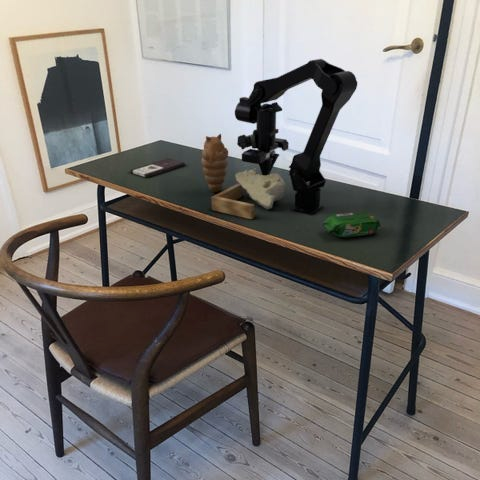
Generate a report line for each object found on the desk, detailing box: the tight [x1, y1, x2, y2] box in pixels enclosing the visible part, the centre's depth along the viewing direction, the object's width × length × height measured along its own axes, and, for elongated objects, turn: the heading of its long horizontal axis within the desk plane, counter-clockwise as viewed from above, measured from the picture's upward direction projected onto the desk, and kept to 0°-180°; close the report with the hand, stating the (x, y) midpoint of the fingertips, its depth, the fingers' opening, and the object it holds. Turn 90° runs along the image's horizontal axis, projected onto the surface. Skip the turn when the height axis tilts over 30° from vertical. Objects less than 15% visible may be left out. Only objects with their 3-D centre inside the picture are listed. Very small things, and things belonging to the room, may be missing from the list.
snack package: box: [322, 211, 381, 238], centre depth 139 cm, size 7×16×5 cm, turn 103°
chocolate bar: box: [129, 157, 186, 178], centre depth 190 cm, size 9×1×18 cm
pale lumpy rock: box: [234, 168, 286, 210], centre depth 160 cm, size 15×7×15 cm
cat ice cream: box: [200, 133, 229, 193], centre depth 165 cm, size 9×8×18 cm
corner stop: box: [210, 182, 255, 220], centre depth 157 cm, size 14×14×4 cm
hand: (265, 178), depth 163 cm, fingers closed
